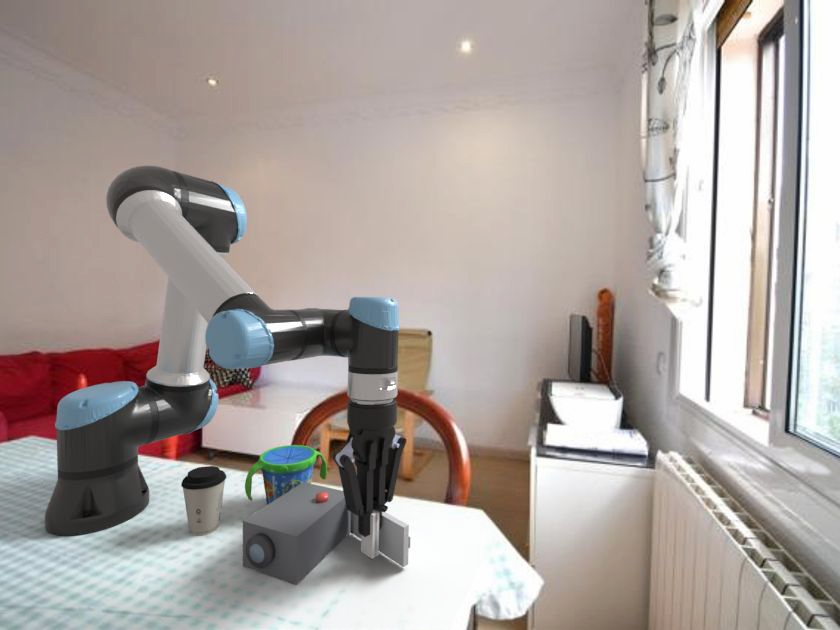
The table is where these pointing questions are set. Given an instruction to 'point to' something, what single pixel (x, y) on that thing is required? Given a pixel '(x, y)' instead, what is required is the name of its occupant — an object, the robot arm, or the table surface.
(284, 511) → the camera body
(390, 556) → the door
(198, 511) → the coffee cup
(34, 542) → the table surface
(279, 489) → the snack cup
